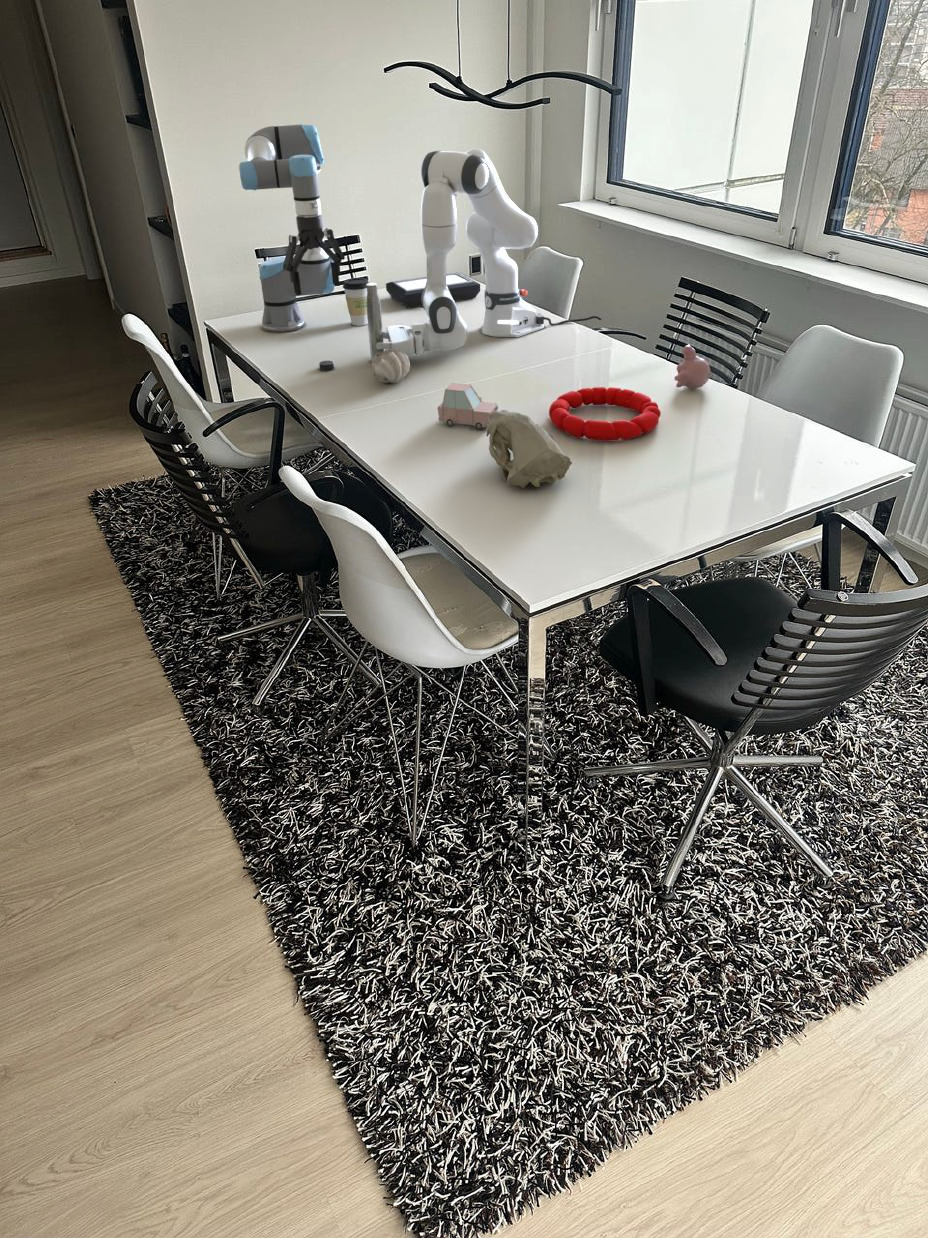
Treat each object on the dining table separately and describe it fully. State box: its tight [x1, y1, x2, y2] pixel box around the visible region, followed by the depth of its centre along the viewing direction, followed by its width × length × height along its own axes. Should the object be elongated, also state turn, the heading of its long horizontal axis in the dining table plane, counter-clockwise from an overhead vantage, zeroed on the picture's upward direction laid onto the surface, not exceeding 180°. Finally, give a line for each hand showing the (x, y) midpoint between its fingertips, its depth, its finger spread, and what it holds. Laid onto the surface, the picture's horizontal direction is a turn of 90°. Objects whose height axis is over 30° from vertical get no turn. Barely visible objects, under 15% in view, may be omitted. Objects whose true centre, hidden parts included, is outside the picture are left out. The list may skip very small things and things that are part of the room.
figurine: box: [674, 344, 711, 390], centre depth 259 cm, size 9×11×12 cm
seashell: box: [371, 349, 411, 384], centre depth 271 cm, size 10×15×10 cm
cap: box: [318, 360, 335, 372], centre depth 286 cm, size 4×4×2 cm
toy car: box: [437, 382, 499, 431], centre depth 243 cm, size 9×15×10 cm, turn 70°
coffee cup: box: [342, 277, 370, 327], centre depth 323 cm, size 10×10×15 cm
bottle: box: [366, 282, 385, 363], centre depth 285 cm, size 4×4×24 cm
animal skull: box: [485, 409, 573, 489], centre depth 216 cm, size 17×25×20 cm
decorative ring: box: [548, 386, 661, 442], centre depth 242 cm, size 7×30×30 cm
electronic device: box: [385, 272, 481, 309], centre depth 351 cm, size 32×6×20 cm
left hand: (317, 289), depth 273 cm, fingers open, 13 cm apart
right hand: (375, 341), depth 288 cm, fingers open, 8 cm apart
